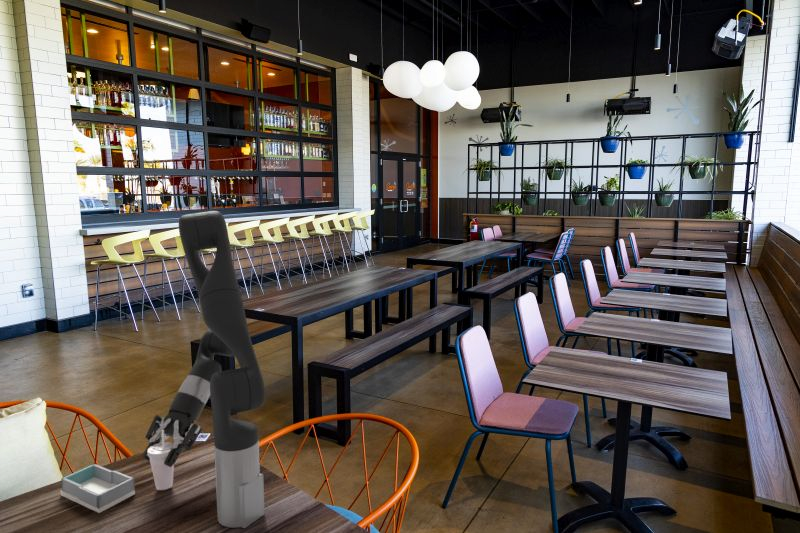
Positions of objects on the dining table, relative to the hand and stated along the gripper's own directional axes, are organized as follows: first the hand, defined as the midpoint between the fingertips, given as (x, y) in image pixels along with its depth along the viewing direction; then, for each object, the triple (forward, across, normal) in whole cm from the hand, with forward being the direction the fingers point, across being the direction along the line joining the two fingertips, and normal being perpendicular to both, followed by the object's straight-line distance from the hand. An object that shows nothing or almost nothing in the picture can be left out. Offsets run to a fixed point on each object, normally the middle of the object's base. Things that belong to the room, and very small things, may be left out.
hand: (156, 462), depth 127 cm
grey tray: (+10, -12, +1) cm, 16 cm away
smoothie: (+4, 0, +6) cm, 7 cm away
